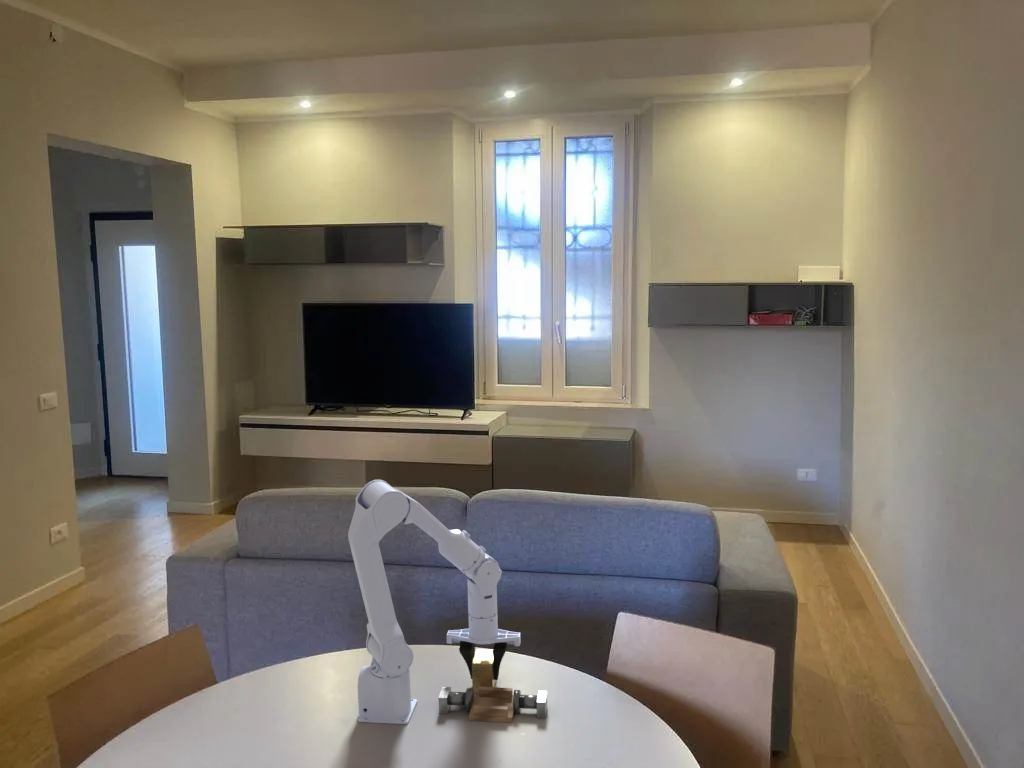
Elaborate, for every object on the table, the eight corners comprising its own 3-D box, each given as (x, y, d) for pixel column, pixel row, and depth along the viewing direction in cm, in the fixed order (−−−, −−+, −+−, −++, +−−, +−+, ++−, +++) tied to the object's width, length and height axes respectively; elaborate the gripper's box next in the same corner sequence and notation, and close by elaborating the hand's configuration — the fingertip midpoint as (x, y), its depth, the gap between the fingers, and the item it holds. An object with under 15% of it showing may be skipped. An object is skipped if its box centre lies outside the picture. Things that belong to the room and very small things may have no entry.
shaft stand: (437, 719, 148) (436, 698, 148) (445, 697, 156) (444, 677, 155) (544, 724, 146) (544, 703, 145) (548, 701, 153) (547, 682, 153)
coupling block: (492, 693, 157) (491, 664, 156) (472, 692, 157) (471, 663, 156) (497, 677, 163) (496, 649, 162) (477, 676, 163) (476, 648, 162)
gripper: (521, 604, 161) (523, 668, 163) (450, 602, 162) (453, 665, 164) (517, 620, 154) (519, 686, 156) (443, 618, 156) (446, 683, 158)
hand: (484, 677), depth 160 cm, fingers closed on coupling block, 4 cm apart
